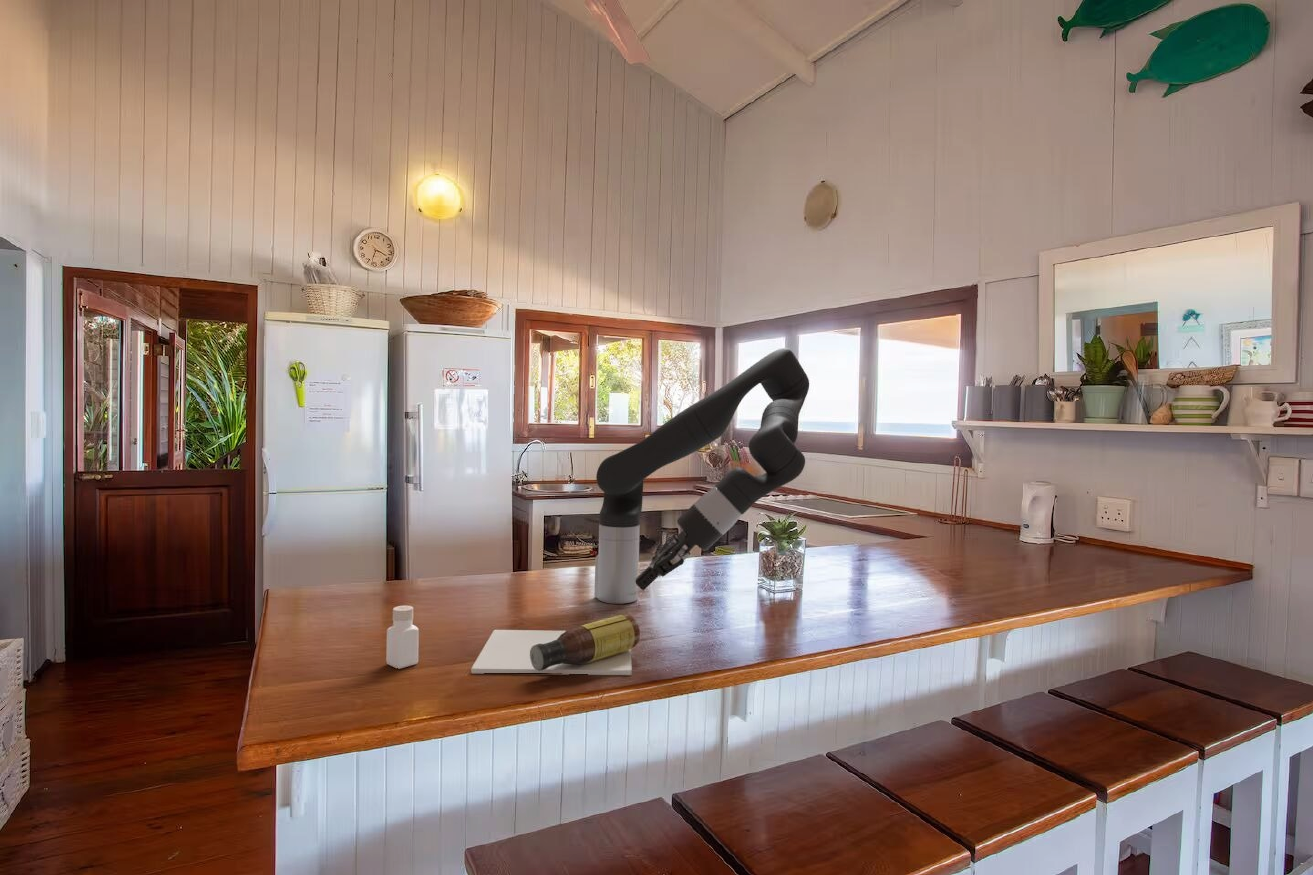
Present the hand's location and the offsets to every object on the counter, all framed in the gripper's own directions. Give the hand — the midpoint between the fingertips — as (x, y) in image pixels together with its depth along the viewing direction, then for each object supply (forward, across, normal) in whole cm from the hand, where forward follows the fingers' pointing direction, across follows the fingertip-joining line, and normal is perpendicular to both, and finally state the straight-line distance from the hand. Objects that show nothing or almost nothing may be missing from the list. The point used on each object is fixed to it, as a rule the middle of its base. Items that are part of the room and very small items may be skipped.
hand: (638, 585), depth 125 cm
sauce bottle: (+6, 0, -5) cm, 8 cm away
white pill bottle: (+37, -6, +19) cm, 42 cm away
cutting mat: (+19, 0, +1) cm, 19 cm away
